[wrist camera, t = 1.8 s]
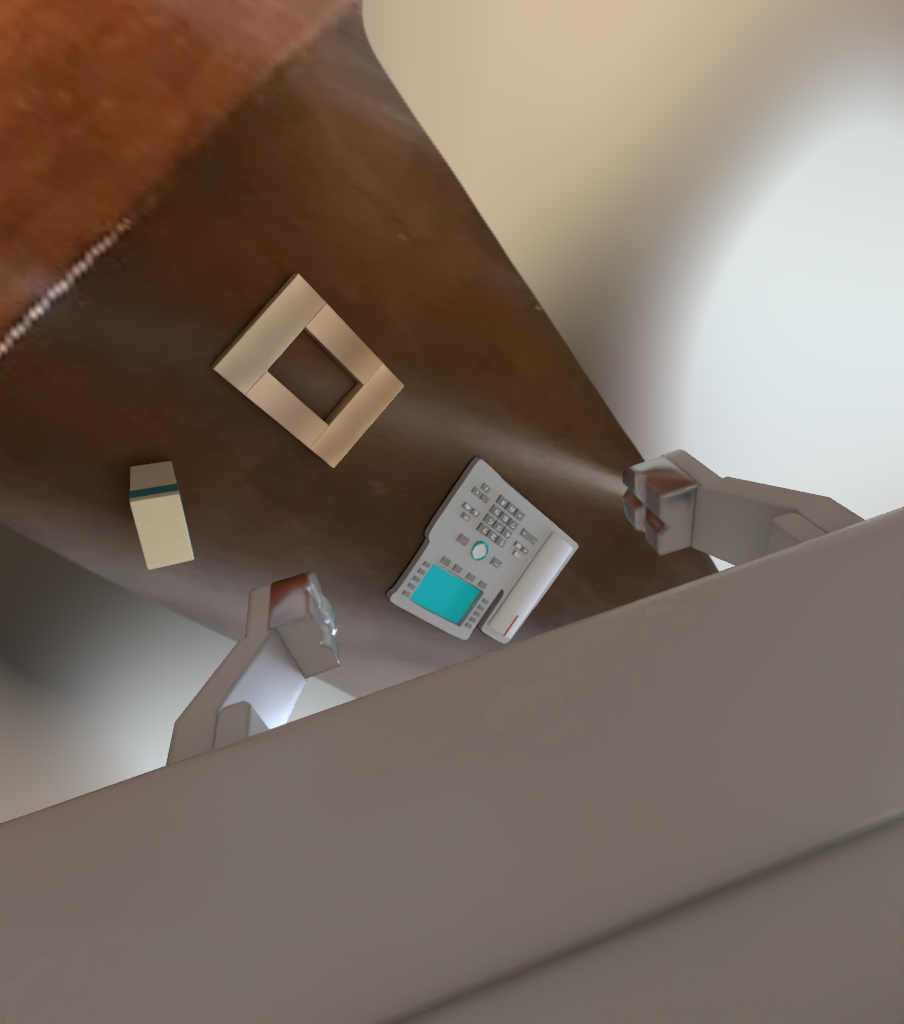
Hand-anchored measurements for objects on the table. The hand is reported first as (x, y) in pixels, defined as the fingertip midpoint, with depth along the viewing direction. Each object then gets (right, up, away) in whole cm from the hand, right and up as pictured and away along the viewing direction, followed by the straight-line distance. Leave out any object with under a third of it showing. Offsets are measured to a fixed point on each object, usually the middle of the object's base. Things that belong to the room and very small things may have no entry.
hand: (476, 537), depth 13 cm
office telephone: (+4, -6, +56) cm, 57 cm away
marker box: (-27, +2, +34) cm, 43 cm away
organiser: (-14, +14, +37) cm, 42 cm away
